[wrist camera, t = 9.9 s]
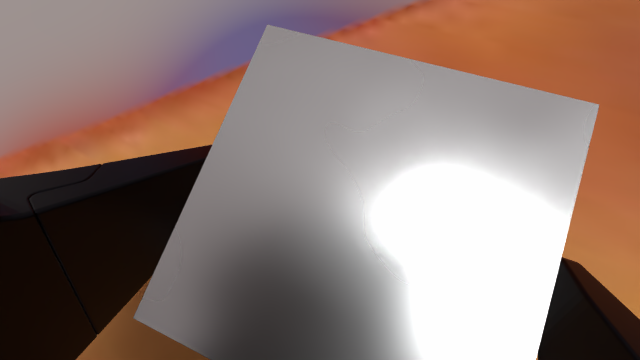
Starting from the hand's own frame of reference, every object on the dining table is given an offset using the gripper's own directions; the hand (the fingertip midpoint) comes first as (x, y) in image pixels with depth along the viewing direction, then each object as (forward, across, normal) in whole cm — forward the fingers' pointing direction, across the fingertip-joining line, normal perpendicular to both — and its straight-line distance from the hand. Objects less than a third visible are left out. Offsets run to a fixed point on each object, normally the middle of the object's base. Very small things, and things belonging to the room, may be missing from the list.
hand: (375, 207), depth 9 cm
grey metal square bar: (+5, 0, +6) cm, 8 cm away
